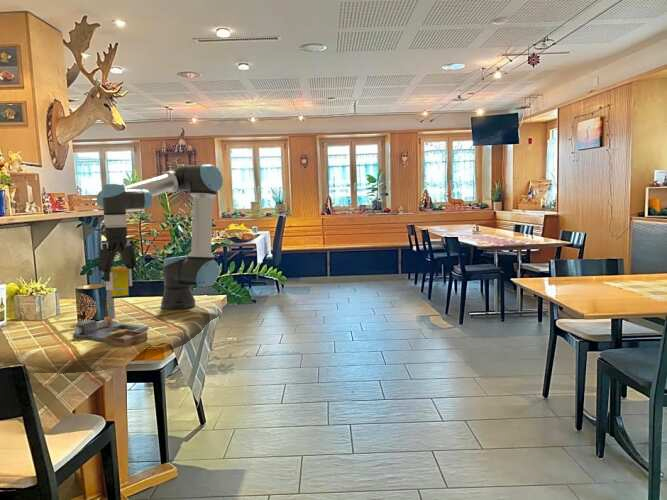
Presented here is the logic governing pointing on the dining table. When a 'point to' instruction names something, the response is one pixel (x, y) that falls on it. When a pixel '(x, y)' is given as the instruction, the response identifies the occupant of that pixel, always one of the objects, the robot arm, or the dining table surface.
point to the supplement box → (119, 282)
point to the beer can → (110, 305)
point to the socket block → (103, 329)
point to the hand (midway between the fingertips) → (119, 287)
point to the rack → (126, 338)
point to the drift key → (102, 323)
